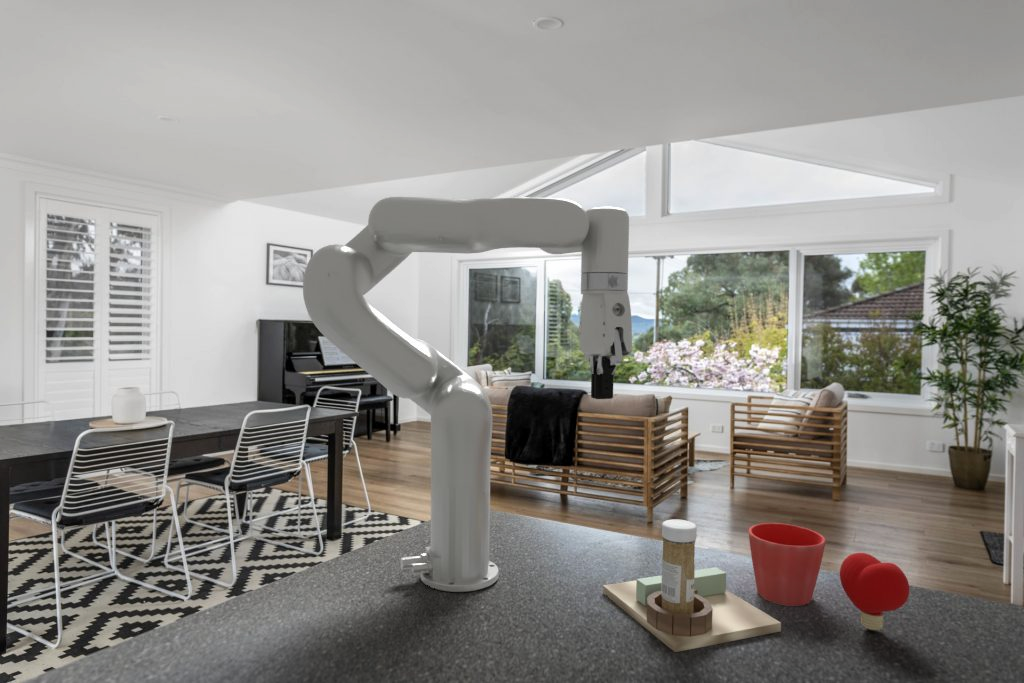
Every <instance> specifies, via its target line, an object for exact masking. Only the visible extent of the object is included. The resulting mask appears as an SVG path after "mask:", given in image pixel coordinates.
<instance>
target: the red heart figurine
mask: <svg viewBox="0 0 1024 683" xmlns="http://www.w3.org/2000/svg"><path fill="white" fill-rule="evenodd" d="M839 579H840V584H841V586H842V589H843V591H844V592H845V595H846V596H847V597H848V599H849V601H850V602H851V603H852V604H853V606H855V608H856V609H858V610H859V611H860V615H861V617H860V624H861V626H863V627H864V628H866V630H867V631H868V632H871V633H876V632H878V631H879V630H882V629H883V626H884V616H885V612H891V611H895V610H898V609H900V608H901V607H903V606H904V605H905V604H906V603H907V602H908V599H909V596H910V584H909V580H908V578H907V576H906V574H905V573H904V571H903V570H902V568H900V567H899V565H897V564H895V563H893V562H881V561H880V560H879V559H878V558H876V557H875V556H873V555H871V554H869V553H866V552H856V553H855V552H854V553H851V554H850V555H848V556H847V557H845V558H844V560H843V561H842V563H841V565H840V568H839Z"/></svg>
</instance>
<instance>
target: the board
mask: <svg viewBox="0 0 1024 683" xmlns="http://www.w3.org/2000/svg"><path fill="white" fill-rule="evenodd" d="M636 582H637V579H636V580H628V581H622V582H618V583H611V584H610V583H609V584H603V585H602V594H603V593H604V595H605V596H606V595H607V596H608V597H609V598H608V597H607V596H606V597H607V598H608V599H609V600H611V601H612V600H613V601H612V603H614V602H615V603H614V604H616V605H617V606H618V607H619V608H621V610H623V611H624V612H626V613H627V614H628V615H629V616H630V617H631V618H632V619H634V620H635V621H636V622H637V623H638V624H640V625H641V626H642V627H644V628H645V629H646V630H647V631H648V632H650V634H652V635H653V636H654V637H655V638H657V639H658V640H659V641H661V642H662V643H663V644H664V645H665V646H666V647H668V648H669V649H670V650H672V651H673V652H674V653H678V652H684V651H688V650H694V649H699V648H705V647H709V646H714V645H718V644H724V643H729V642H733V641H739V640H744V639H750V638H754V637H759V636H763V635H768V634H770V635H771V634H774V633H779V632H782V622H781V621H779V620H777V619H776V618H774V617H773V616H771V615H769V614H767V613H766V612H764V611H763V610H760V609H759V608H757V607H755V606H754V605H752V604H751V603H750V602H747V601H745V600H744V599H742V598H741V597H739V596H738V595H735V594H734V593H732V592H731V591H729V590H727V589H726V593H721V594H715V595H709V596H703V597H702V596H699V595H697V591H698V590H697V589H695V588H694V613H692V614H679V613H673V612H669V611H666V610H663V609H662V595H661V591H657V592H654V593H652V594H651V595H649V596H648V597H647V606H644V605H643V604H642V603H640V602H639V601H638V600H636Z"/></svg>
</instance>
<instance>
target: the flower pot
mask: <svg viewBox="0 0 1024 683" xmlns="http://www.w3.org/2000/svg"><path fill="white" fill-rule="evenodd" d="M748 539H749V549H750V556H751V561H752V569H753V574H754V579H755V580H754V581H755V585H756V590H757V593H758V595H759V596H760V597H761V598H763V599H764V600H766V601H768V602H770V603H773V604H776V605H781V606H787V607H800V606H801V607H802V606H805V605H808V604H810V603H811V601H812V600H813V597H814V596H813V595H814V592H815V588H816V583H817V581H818V578H819V572H820V569H821V565H822V560H823V558H824V557H823V556H824V551H825V547H826V546H825V545H826V538H825V537H824V536H823V535H822V534H821V533H818V532H817V531H814V530H812V529H810V528H806V527H803V526H798V525H793V524H787V523H778V522H768V523H767V522H766V523H765V522H764V523H758V524H755V525H752V526H750V527H749V529H748Z"/></svg>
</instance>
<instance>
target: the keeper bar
mask: <svg viewBox="0 0 1024 683" xmlns="http://www.w3.org/2000/svg"><path fill="white" fill-rule="evenodd" d="M636 580H637V582H636V600H638V601H639V602H640V603H642V604H643V605H644V606H647V597H648V596H649V595H651V594H652V593H654V592H657V591H661V588H662V574H661V575H653V576H648V577H640V578H636ZM694 588H695V589H697V590H698V591H697V595H699V596H702V597H703V596H709V595H715V594H721V593H726V590H727V572H725V571H723V570H722V569H721V568H718V567H717V566H715V567H714V566H713V567H707V568H700V569H695V575H694Z"/></svg>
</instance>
